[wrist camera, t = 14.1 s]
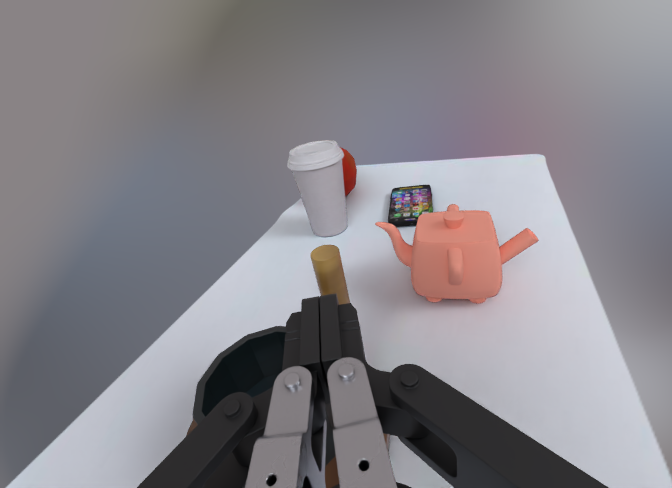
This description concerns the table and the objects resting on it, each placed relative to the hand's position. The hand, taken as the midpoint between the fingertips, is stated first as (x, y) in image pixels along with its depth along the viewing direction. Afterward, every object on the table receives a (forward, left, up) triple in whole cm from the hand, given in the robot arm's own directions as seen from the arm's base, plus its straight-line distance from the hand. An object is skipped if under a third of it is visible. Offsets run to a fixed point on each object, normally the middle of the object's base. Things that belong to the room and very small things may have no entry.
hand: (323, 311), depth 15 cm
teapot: (-6, +27, -20) cm, 34 cm away
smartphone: (-22, +45, -20) cm, 54 cm away
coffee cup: (-32, +33, -20) cm, 50 cm away
